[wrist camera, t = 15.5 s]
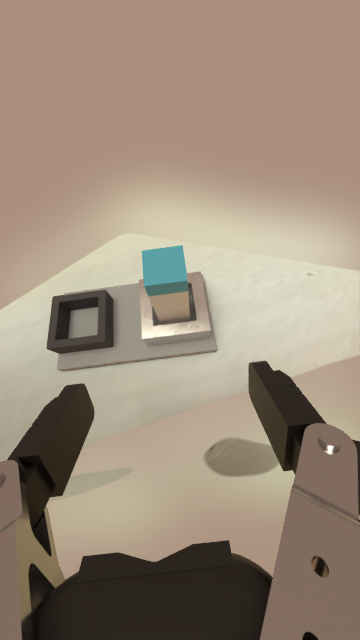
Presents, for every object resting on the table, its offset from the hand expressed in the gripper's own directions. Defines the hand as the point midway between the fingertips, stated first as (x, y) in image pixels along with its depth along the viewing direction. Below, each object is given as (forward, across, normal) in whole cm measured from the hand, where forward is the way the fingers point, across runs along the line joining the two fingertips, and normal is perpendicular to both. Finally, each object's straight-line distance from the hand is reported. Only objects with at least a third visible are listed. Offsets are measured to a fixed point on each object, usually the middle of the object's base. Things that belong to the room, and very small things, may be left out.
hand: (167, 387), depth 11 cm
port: (+21, 0, +4) cm, 21 cm away
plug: (+21, 0, +4) cm, 21 cm away
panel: (+22, +6, +5) cm, 23 cm away
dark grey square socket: (+22, +13, +5) cm, 26 cm away
